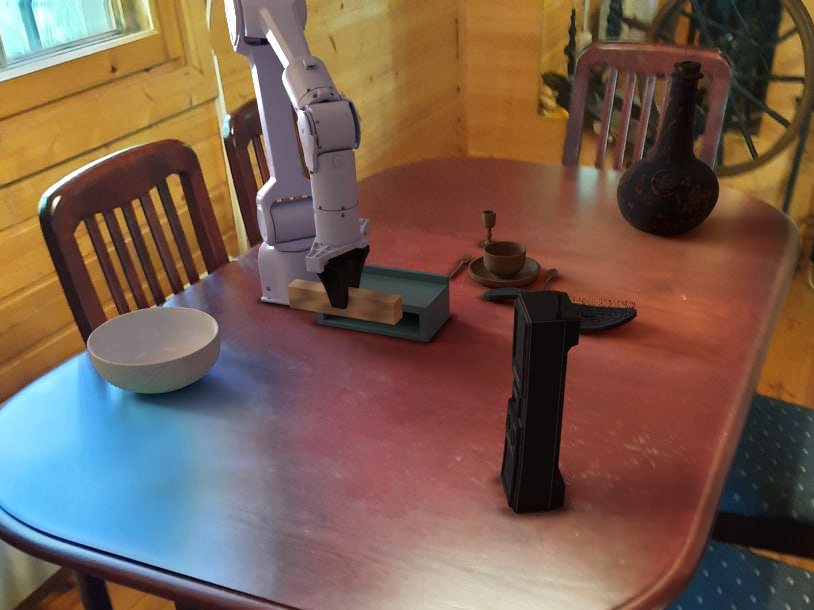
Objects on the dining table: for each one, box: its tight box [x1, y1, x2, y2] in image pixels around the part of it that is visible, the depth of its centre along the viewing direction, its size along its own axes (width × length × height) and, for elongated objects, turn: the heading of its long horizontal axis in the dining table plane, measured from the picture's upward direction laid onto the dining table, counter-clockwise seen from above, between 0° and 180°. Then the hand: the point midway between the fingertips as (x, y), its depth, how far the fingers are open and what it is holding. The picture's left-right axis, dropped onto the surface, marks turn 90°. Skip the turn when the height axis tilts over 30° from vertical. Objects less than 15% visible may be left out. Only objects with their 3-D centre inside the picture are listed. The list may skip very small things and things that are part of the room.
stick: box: [287, 279, 402, 325], centre depth 116 cm, size 16×3×3 cm, turn 68°
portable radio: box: [500, 289, 581, 514], centre depth 88 cm, size 8×6×25 cm
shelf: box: [316, 263, 451, 343], centre depth 128 cm, size 18×9×7 cm, turn 68°
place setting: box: [449, 209, 559, 291], centre depth 143 cm, size 18×20×6 cm
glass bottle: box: [616, 60, 720, 236], centre depth 150 cm, size 18×18×28 cm
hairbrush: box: [483, 287, 638, 334], centre depth 129 cm, size 8×4×25 cm
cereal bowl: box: [86, 306, 222, 394], centre depth 115 cm, size 17×17×7 cm
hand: (344, 302), depth 116 cm, fingers closed on stick, 2 cm apart
